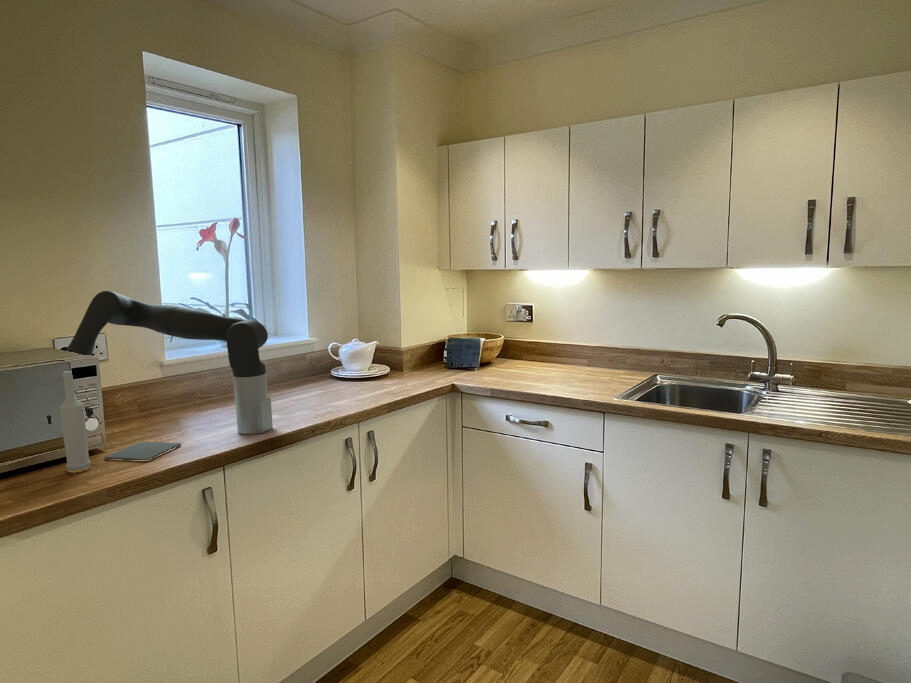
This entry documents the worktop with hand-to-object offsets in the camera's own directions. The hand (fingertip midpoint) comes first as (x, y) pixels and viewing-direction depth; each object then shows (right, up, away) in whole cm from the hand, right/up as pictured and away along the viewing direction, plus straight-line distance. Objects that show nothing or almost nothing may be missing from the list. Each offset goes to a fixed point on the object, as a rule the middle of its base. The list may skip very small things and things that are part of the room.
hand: (70, 416), depth 146 cm
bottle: (+3, -13, -1) cm, 14 cm away
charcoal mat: (+13, -11, +11) cm, 20 cm away
